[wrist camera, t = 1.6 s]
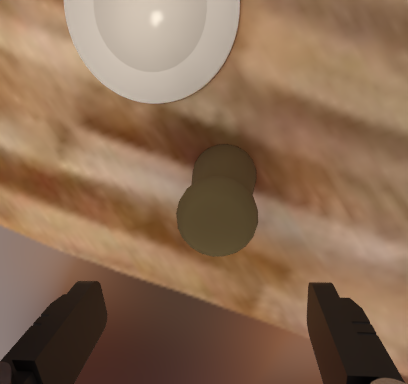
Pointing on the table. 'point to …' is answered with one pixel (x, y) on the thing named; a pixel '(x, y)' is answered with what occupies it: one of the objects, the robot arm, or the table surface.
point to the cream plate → (153, 44)
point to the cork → (219, 202)
